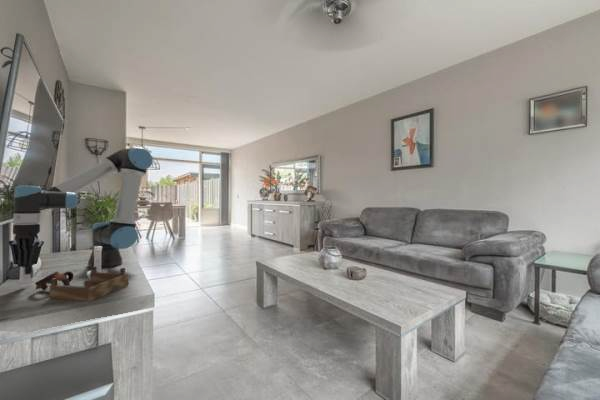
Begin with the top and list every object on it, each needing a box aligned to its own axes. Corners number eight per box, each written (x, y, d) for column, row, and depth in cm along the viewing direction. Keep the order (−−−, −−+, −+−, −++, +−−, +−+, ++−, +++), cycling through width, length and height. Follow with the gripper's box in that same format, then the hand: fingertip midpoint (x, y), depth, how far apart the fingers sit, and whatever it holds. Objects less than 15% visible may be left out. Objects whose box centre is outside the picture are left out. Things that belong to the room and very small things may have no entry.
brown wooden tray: (92, 282, 112) (93, 266, 112) (128, 284, 111) (128, 268, 111) (49, 298, 94) (50, 279, 94) (91, 300, 93) (91, 281, 93)
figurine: (107, 275, 122) (107, 244, 122) (107, 281, 115) (108, 247, 115) (87, 278, 118) (87, 245, 118) (86, 284, 110) (87, 248, 110)
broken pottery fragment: (57, 296, 98) (43, 278, 96) (39, 305, 99) (25, 288, 98) (85, 278, 109) (72, 262, 108) (68, 286, 111) (56, 271, 109)
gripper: (0, 224, 101) (-2, 284, 101) (31, 225, 100) (29, 286, 100) (22, 222, 109) (20, 278, 109) (51, 223, 108) (49, 280, 108)
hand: (25, 282), depth 104 cm, fingers closed
